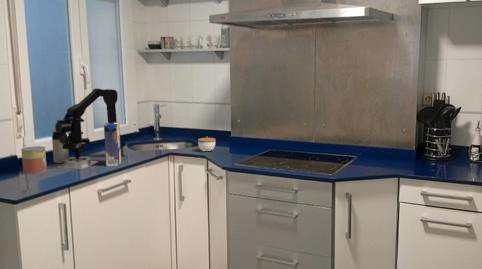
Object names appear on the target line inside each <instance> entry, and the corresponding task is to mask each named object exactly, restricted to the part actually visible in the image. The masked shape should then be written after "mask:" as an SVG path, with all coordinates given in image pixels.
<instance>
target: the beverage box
mask: <svg viewBox="0 0 482 269" xmlns="http://www.w3.org/2000/svg"><path fill="white" fill-rule="evenodd" d="M103 131H104V132H103V134H104V152H105V154H104V155H105V167H118V165H119V166H120V165H121V162H122V157H121V149H120V135H121V133H120V132H121V131H120V122H117V123H108V122H106V123H105V124H104V125H103Z"/></svg>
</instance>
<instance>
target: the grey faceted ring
mask: <svg viewBox="0 0 482 269" xmlns="http://www.w3.org/2000/svg"><path fill="white" fill-rule="evenodd" d="M75 158H76V157H75V156H74V157H69V158H67V159H65V160H64V163H61V164H60V165H58V166H56V169H71V170H72V169H75V170H77V169H78V170H86V169H88V168H90V167H91V166H94V165H95V164H98V163H99V161H97V160H92V159H91V157H89V156H80V157H79V158H83V160H82V161H72V159H75Z"/></svg>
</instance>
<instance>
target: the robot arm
mask: <svg viewBox="0 0 482 269" xmlns="http://www.w3.org/2000/svg"><path fill="white" fill-rule="evenodd" d="M100 97H102V99H103V102H104V103H105V105H106V115H107V117H106V118H107V123H118V120H117V108H116V104H117V101H118V91H117V90H116V89H108V88H107V89H102V88H93V90H92V91H91V92H90V93H88V94H87V95H86V96H85V97H84V98H83V99H81V101H80V102H78V103H76V104H74V105H72V106H70V107H68V108H67V110H66V113H65V115H64V117H63V119H58V120H57V119H56V123H55V126H54V127H55V129H54V130H56V132H57V133H64V132H66V133H67V137H64V136H61V137H59V142H60V143H62V144H63V145H62V146H63V149H68V150H71V151H72V152H73V155H74V157H76V159H79V157H81V155H82V153H83V150H84V148H85V144H87V145H89V144H90V143H91V142H90V141H91V140H90V138H88V137H86V138H85V137H82V135H83V134H84V132H83V131H82V123H83V122H85V119H83V118H82V117H83V115H84V114H85V112H86V110H87V109H88V107H90V105H92V104H93V103H94V102H95V101H96V100H97V99H98V98H100ZM64 143H65V144H64ZM83 144H84V145H83ZM124 147H126V142H125V141H124V140H123V139H122V136H121V134H120V149H121V158H123V157H124V156H125V154H124Z"/></svg>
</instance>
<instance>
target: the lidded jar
mask: <svg viewBox="0 0 482 269" xmlns="http://www.w3.org/2000/svg"><path fill="white" fill-rule="evenodd" d="M197 140H198V148H199V149H200V151H201V150H202V151H211V150H212V151H214V150H215V148H216V138H214V137H209V136H205V137H201V138H198V139H197ZM202 151H201V152H202Z"/></svg>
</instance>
